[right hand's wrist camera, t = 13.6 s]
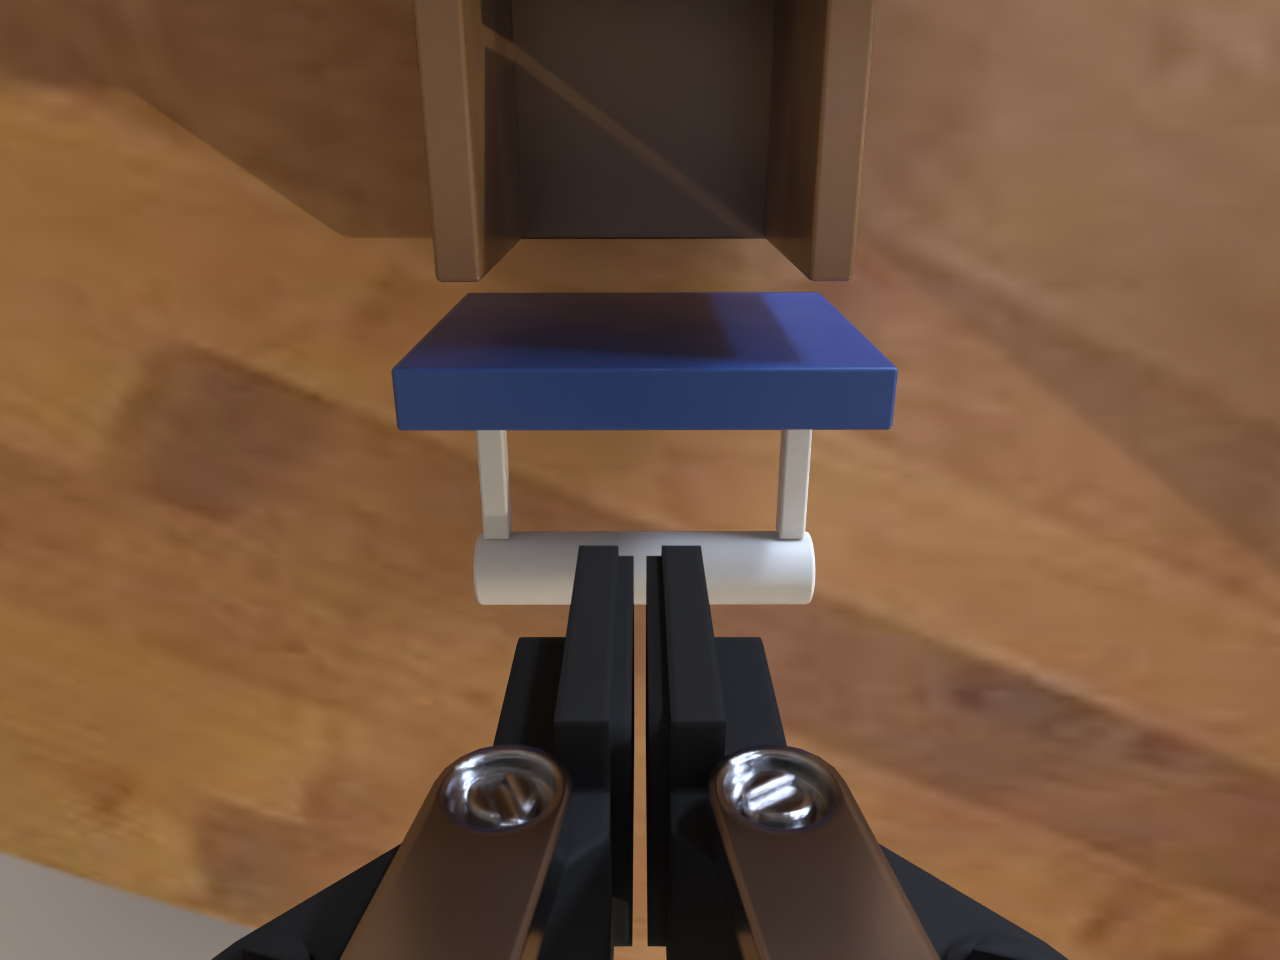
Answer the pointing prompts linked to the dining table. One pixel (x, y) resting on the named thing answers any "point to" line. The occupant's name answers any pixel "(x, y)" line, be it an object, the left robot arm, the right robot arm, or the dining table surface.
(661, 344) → the drawer
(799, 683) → the dining table surface
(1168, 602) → the dining table surface
